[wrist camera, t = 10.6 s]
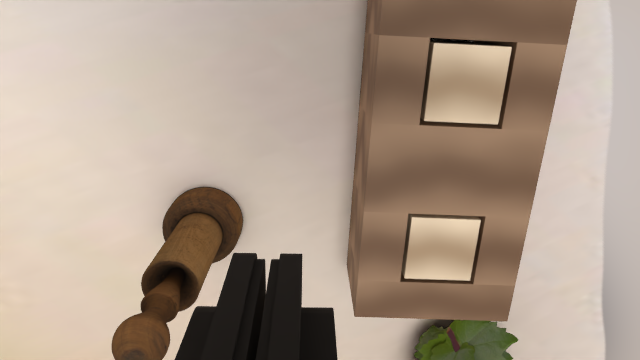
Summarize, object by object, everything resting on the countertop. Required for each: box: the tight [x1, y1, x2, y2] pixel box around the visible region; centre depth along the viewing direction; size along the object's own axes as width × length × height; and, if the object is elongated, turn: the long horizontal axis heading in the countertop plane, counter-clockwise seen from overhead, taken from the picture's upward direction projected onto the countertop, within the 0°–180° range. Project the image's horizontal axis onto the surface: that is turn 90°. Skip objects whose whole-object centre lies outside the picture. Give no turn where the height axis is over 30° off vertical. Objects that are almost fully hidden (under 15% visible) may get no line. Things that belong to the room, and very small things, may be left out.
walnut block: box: [347, 0, 577, 321], centre depth 35 cm, size 24×12×8 cm, turn 177°
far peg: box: [401, 213, 481, 281], centre depth 37 cm, size 5×5×8 cm
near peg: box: [420, 40, 512, 124], centre depth 33 cm, size 5×5×8 cm
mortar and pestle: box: [112, 187, 243, 360], centre depth 33 cm, size 7×6×18 cm
